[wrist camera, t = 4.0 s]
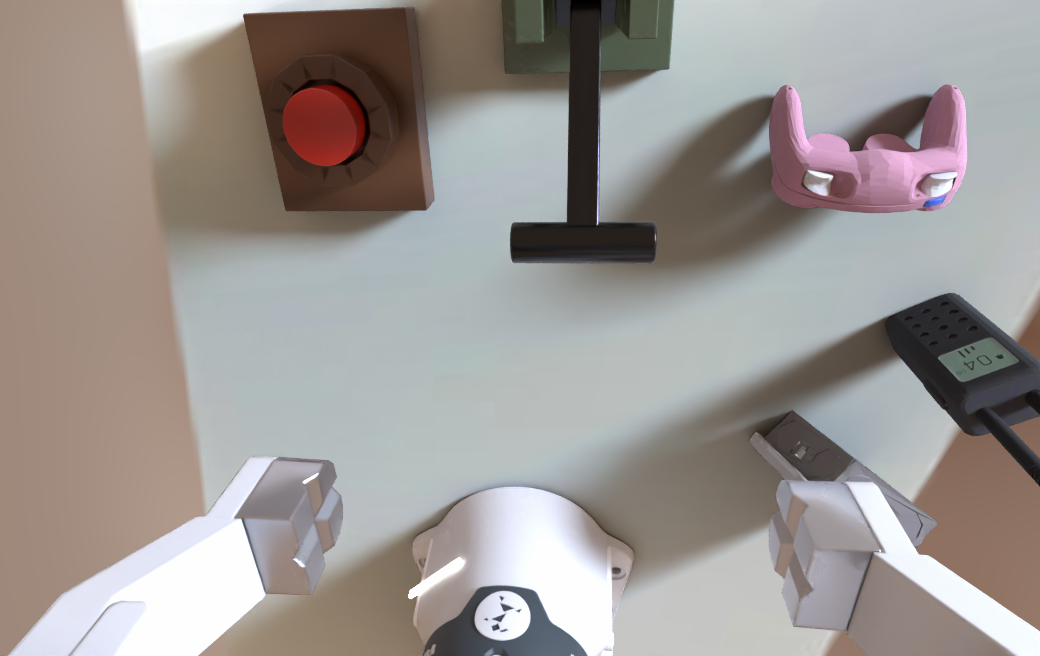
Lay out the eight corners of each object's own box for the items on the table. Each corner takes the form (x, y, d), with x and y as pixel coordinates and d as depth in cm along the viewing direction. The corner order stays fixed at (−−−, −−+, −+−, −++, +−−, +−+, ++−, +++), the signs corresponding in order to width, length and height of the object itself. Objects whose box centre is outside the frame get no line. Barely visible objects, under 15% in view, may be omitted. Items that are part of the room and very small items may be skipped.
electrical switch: (742, 434, 46) (787, 521, 38) (796, 386, 44) (855, 465, 36) (830, 499, 48) (891, 595, 40) (884, 455, 46) (961, 546, 38)
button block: (434, 200, 40) (419, 220, 36) (299, 201, 41) (272, 221, 37) (415, 6, 35) (395, 8, 31) (260, 12, 36) (225, 14, 32)
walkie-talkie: (956, 288, 39) (1141, 435, 26) (970, 329, 40) (1153, 491, 27) (877, 320, 41) (1013, 475, 28) (892, 359, 42) (1030, 526, 29)
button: (371, 158, 35) (361, 166, 34) (303, 159, 36) (290, 166, 34) (360, 83, 34) (349, 87, 32) (288, 85, 34) (274, 89, 32)
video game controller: (751, 144, 38) (769, 228, 34) (772, 76, 34) (794, 161, 30) (924, 145, 37) (962, 231, 33) (964, 75, 33) (1013, 163, 29)
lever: (650, 268, 23) (658, 256, 21) (515, 268, 24) (507, 256, 21) (652, -47, 24) (660, -94, 21) (522, -41, 24) (515, -86, 22)
